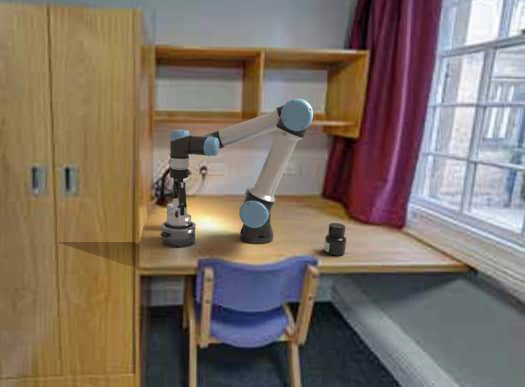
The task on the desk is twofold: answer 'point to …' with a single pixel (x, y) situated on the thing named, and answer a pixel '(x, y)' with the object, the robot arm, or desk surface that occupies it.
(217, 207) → the desk surface
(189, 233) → the pot
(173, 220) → the lid
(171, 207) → the ink box
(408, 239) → the desk surface
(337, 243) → the ink bottle
